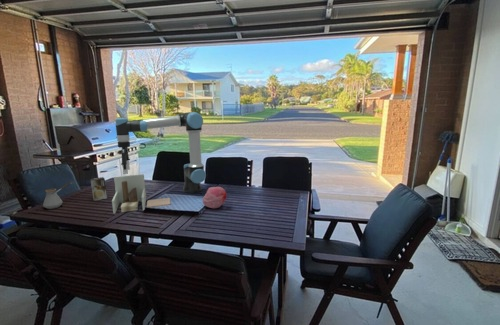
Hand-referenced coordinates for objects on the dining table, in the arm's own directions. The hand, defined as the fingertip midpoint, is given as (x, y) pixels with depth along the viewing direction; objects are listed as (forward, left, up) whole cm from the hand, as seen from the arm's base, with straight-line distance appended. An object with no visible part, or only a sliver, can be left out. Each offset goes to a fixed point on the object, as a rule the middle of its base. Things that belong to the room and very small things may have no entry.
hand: (126, 171), depth 187 cm
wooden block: (0, 0, -26) cm, 26 cm away
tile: (-19, 0, -25) cm, 32 cm away
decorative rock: (-56, +23, -26) cm, 66 cm away
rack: (0, 0, -25) cm, 25 cm away
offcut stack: (0, +6, -25) cm, 26 cm away
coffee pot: (+49, -22, -26) cm, 59 cm away
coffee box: (+24, -27, -26) cm, 44 cm away
